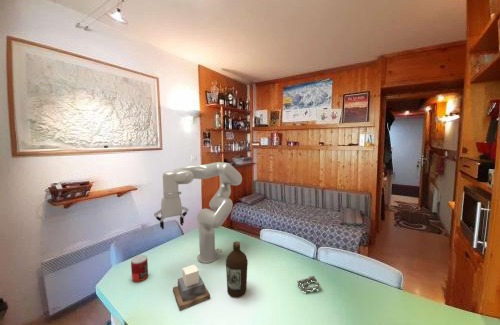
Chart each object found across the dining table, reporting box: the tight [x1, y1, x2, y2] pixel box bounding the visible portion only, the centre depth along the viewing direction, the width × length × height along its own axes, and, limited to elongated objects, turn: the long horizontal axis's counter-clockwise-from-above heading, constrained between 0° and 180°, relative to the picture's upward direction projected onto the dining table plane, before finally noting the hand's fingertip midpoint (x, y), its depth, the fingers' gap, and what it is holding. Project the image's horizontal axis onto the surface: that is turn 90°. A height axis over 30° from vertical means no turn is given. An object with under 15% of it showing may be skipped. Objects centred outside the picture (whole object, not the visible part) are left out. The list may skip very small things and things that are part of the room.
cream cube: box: [182, 264, 200, 287], centre depth 101 cm, size 6×6×6 cm
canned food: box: [130, 254, 149, 283], centre depth 114 cm, size 8×8×11 cm
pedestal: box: [172, 274, 211, 312], centre depth 102 cm, size 14×14×7 cm
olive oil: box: [225, 240, 249, 299], centre depth 103 cm, size 11×11×25 cm
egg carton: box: [296, 275, 322, 293], centre depth 107 cm, size 11×8×4 cm
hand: (172, 226), depth 113 cm, fingers open, 9 cm apart
